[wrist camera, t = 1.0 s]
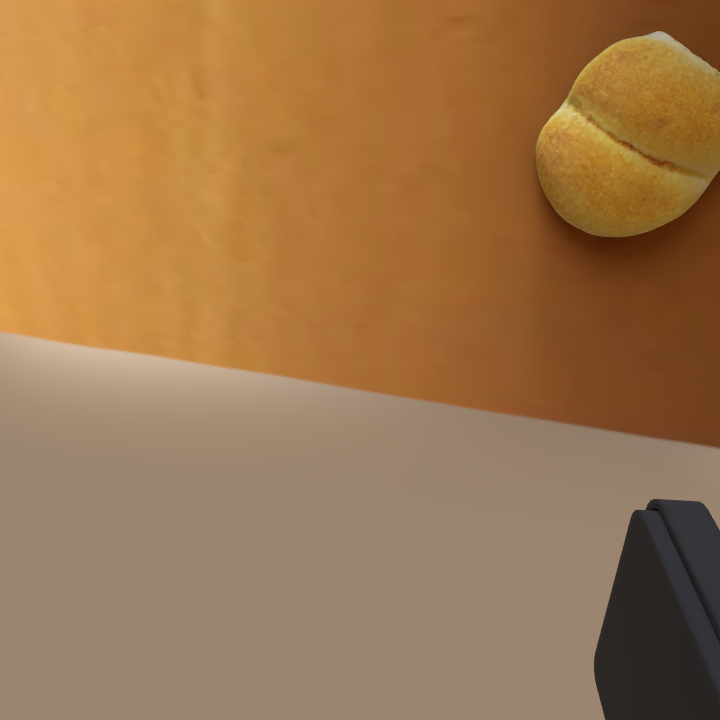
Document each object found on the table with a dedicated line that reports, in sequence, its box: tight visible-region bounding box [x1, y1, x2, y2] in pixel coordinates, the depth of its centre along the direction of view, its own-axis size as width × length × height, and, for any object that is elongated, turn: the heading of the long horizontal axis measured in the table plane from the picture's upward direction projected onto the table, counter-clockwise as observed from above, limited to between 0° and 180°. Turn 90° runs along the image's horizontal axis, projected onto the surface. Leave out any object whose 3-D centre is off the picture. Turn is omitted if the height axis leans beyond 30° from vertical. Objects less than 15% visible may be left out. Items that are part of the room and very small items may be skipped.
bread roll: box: [535, 31, 720, 237], centre depth 32 cm, size 8×9×4 cm
